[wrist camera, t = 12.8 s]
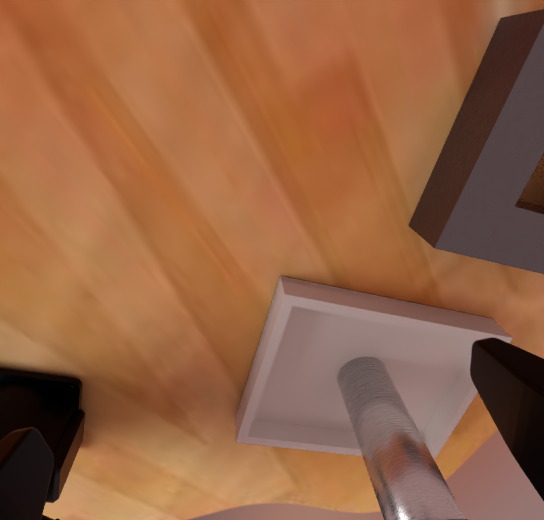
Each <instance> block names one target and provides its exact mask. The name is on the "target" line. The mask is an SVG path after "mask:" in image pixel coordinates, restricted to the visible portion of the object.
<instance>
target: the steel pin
mask: <svg viewBox="0 0 544 520" xmlns="http://www.w3.org/2000/svg"><path fill="white" fill-rule="evenodd" d="M337 383H338V386H339V389H340V392H341V395H342V398H343V401H344V404H345V407H346V409H347V412H348V415H349V418H350V421H351V424H352V427H353V430H354V433H355V436H356V439H357V442H358V445H359V447H360V450H361V453H362V456H363V459H364V462H365V465H366V468H367V471H368V474H369V477H370V480H371V482H372V485H373V488H374V491H375V494H376V497H377V500H378V503H379V506H380V509H381V512H382V514H383V518H384V520H466V519H465V518H464V516H463V514H462V512H461V510H460V508H459V507H458V505H457V503H456V501H455V499H454V497H453V495H452V493H451V491H450V489H449V487H448V485H447V483H446V481H445V480H444V478H443V476H442V474H441V472H440V470H439V468H438V466H437V464H436V462H435V461H434V459H433V457H432V455H431V453H430V451H429V449H428V447H427V445H426V443H425V442H424V440H423V438H422V436H421V434H420V432H419V430H418V428H417V426H416V424H415V422H414V421H413V419H412V417H411V415H410V413H409V411H408V409H407V407H406V405H405V403H404V402H403V400H402V398H401V396H400V394H399V392H398V390H397V388H396V386H395V384H394V383H393V381H392V379H391V377H390V375H389V373H388V371H387V369H386V367H385V365H384V364H383V363H382V362H381V361H380V360H378V359H376V358H374V357H367V356H365V357H358V358H355V359H353V360H351V361H349V362H347V363H346V364H345V365H344V366H343V367H342V368H341V369H340V371H339V373H338V376H337Z"/></svg>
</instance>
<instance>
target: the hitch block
mask: <svg viewBox="0 0 544 520" xmlns="http://www.w3.org/2000/svg"><path fill="white" fill-rule="evenodd" d="M543 154H544V9H543V10H538V11H533V12H528V13H523V14H518V15H513V16H509V17H504V18H501V19H500V21H499V23H498V26H497V28H496V30H495V32H494V35H493V37H492V39H491V41H490V44H489V46H488V48H487V50H486V53H485V55H484V57H483V59H482V62H481V64H480V66H479V68H478V71H477V73H476V75H475V77H474V80H473V82H472V84H471V86H470V89H469V91H468V93H467V95H466V98H465V100H464V102H463V104H462V107H461V109H460V111H459V113H458V115H457V118H456V120H455V122H454V124H453V127H452V129H451V131H450V133H449V136H448V138H447V140H446V142H445V145H444V147H443V149H442V151H441V154H440V156H439V158H438V160H437V163H436V165H435V167H434V169H433V172H432V174H431V176H430V178H429V181H428V183H427V185H426V187H425V190H424V192H423V194H422V196H421V199H420V201H419V203H418V205H417V208H416V210H415V212H414V214H413V217H412V219H411V221H410V223H409V227H411V228H412V229H413V230H414V231H415V232H416V233H417V234H419V235H420V236H421V237H422V238H423V239H424V240H426V241H427V242H428V243H429V244H430V245H431V246H433V247H434V248H436V249H440V250H444V251H449V252H453V253H457V254H461V255H466V256H470V257H474V258H478V259H483V260H487V261H491V262H495V263H500V264H504V265H508V266H512V267H516V268H521V269H525V270H529V271H533V272H538V273H542V274H544V207H540V206H537V205H533V204H530V203H526V202H522V201H519V200H518V199H519V197H520V195H521V194H522V192H523V190H524V188H525V186H526V185H527V183H528V181H529V179H530V177H531V176H532V174H533V172H534V170H535V168H536V166H537V165H538V163H539V161H540V159H541V157H542V156H543Z"/></svg>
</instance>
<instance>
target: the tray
mask: <svg viewBox="0 0 544 520" xmlns="http://www.w3.org/2000/svg"><path fill="white" fill-rule="evenodd" d="M491 337H494V338H498V339H500V340H503V341H505V342H507V343H510V342H511V340H512V339H513V338H512V337H511V336H510V335H509V334H508V333H507V332H506V331H505V330H504V329H503V328H502V327H501V326H500V325H498V324H497V323H496V322H495V321H494V320H493V319H492V318H487V317H482V316H477V315H472V314H467V313H462V312H457V311H452V310H447V309H442V308H437V307H432V306H427V305H422V304H417V303H412V302H408V301H403V300H398V299H393V298H388V297H383V296H378V295H373V294H368V293H363V292H358V291H353V290H348V289H343V288H338V287H333V286H328V285H323V284H318V283H313V282H308V281H303V280H298V279H293V278H288V277H283V276H280V278H279V281H278V284H277V288H276V291H275V294H274V297H273V300H272V303H271V306H270V310H269V313H268V316H267V319H266V322H265V325H264V328H263V332H262V335H261V338H260V341H259V344H258V347H257V350H256V354H255V357H254V360H253V363H252V366H251V369H250V372H249V376H248V379H247V382H246V385H245V388H244V391H243V394H242V398H241V401H240V404H239V407H238V410H237V413H236V416H235V427H236V442H237V443H246V444H255V445H264V446H273V447H283V448H292V449H301V450H310V451H319V452H328V453H338V454H347V455H356V456H362V453H361V450H360V447H359V445H358V442H357V439H356V436H355V433H354V430H353V427H352V424H351V421H350V418H349V415H348V412H347V409H346V407H345V404H344V401H343V398H342V395H341V392H340V389H339V386H338V383H337V376H338V373H339V371H340V369H341V368H342V367H343V366H344V365H345V364H346V363H347V362H349V361H351V360H353V359H355V358H358V357H365V356H367V357H374V358H376V359H378V360H380V361H381V362H382V363H383V364H384V365H385V367H386V369H387V371H388V373H389V375H390V377H391V379H392V381H393V383H394V384H395V386H396V388H397V390H398V392H399V394H400V396H401V398H402V400H403V402H404V403H405V405H406V407H407V409H408V411H409V413H410V415H411V417H412V419H413V421H414V422H415V424H416V426H417V428H418V430H419V432H420V434H421V436H422V438H423V440H424V442H425V443H426V445H427V447H428V449H429V451H430V453H431V455H432V457H433V459H434V460H435V458H436V457H437V455H438V453H439V452H440V450H441V449H442V447H443V446H444V444H445V443H446V441H447V440H448V438H449V436H450V435H451V433H452V432H453V430H454V429H455V427H456V426H457V424H458V422H459V421H460V419H461V418H462V416H463V415H464V413H465V412H466V410H467V409H468V407H469V405H470V404H471V402H472V401H473V399H474V398H475V396H476V395H477V393H478V391H477V389H476V387H475V386H474V384H473V382H472V379H471V376H470V363H471V351H472V344H473V343H474V341H476V340H480V339H485V338H491Z"/></svg>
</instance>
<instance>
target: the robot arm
mask: <svg viewBox="0 0 544 520" xmlns="http://www.w3.org/2000/svg"><path fill="white" fill-rule="evenodd" d="M470 376H471V379H472V382H473V384H474V386H475V387H476V389H477V391H478V393H479V395H480V397H481V399H482V400H483V402H484V404H485V406H486V408H487V410H488V411H489V413H490V415H491V417H492V419H493V421H494V422H495V424H496V426H497V428H498V430H499V432H500V433H501V435H502V437H503V439H504V441H505V443H506V444H507V446H508V448H509V450H510V451H511V453H512V454H513V456H514V457H515V459H516V461H517V462H518V464H519V465H520V467H521V468H522V470H523V471H524V473H525V474H526V476H527V477H528V479H529V480H530V482H531V483H532V484H533V486H534V488H535V489H536V490H537V492H538V493H539V495H540V496H541V498H542V499H543V501H544V359H543V358H541V357H538V356H536V355H534V354H532V353H529V352H527V351H525V350H523V349H520V348H518V347H516V346H514V345H512V344H509V343H507V342H505V341H503V340H500V339H498V338H494V337H491V338H485V339H480V340H476V341H474V343H473V344H472V351H471V363H470ZM71 386H74V387H71ZM81 395H82V382H81V381H80V380H79V379H76V378H71V377H63V376H56V375H48V374H41V373H33V372H25V371H18V370H10V369H3V368H0V520H54V519H51V518H49V517H47V516H44V515H42V514H43V509H44V505H45V503H46V502H50V503H53V502H55V501H56V500H57V499H59V497H60V494H61V492H62V489H63V487H64V484H65V482H66V480H67V477H68V475H69V472H70V470H71V467H72V465H73V462H74V460H75V457H76V455H77V452H78V450H79V448H80V445H81V443H82V440H83V431H84V421H85V412H84V411H83V409H80V406H81ZM56 520H59V519H56Z"/></svg>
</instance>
